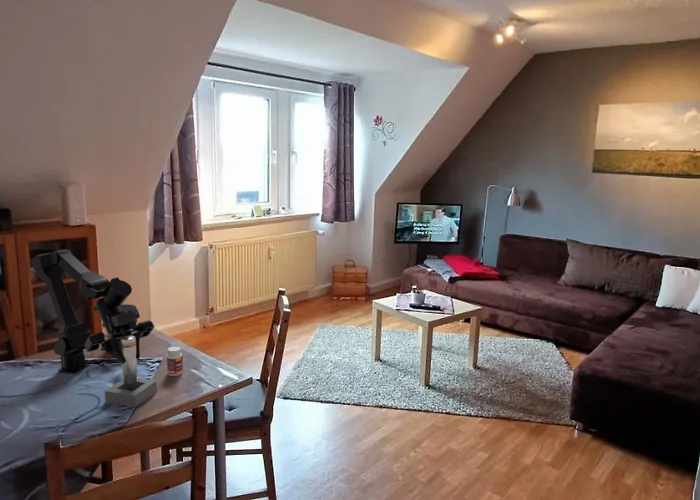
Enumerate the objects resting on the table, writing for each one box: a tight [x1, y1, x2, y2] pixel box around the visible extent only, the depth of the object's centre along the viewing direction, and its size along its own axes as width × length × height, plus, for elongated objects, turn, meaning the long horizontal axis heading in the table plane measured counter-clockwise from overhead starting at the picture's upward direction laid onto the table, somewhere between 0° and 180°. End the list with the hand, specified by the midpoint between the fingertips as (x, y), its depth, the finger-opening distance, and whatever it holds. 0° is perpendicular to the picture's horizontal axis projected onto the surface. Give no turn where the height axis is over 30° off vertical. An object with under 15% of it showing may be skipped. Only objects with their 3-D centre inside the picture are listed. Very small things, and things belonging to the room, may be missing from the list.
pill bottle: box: [166, 346, 184, 377], centre depth 171 cm, size 5×5×8 cm
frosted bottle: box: [120, 336, 139, 384], centre depth 153 cm, size 4×4×13 cm
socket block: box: [104, 377, 158, 408], centre depth 155 cm, size 10×10×4 cm
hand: (131, 360), depth 152 cm, fingers closed on frosted bottle, 4 cm apart
